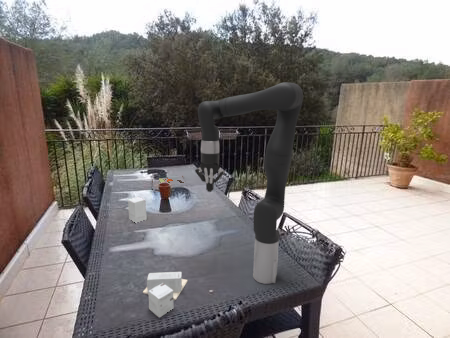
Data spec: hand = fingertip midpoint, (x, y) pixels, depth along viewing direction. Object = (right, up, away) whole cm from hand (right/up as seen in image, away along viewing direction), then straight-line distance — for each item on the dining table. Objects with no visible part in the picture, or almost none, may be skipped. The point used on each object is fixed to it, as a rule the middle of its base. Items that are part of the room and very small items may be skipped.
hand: (209, 191), depth 121 cm
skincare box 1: (-9, -32, -16) cm, 37 cm away
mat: (-16, -35, -13) cm, 41 cm away
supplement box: (-44, -20, +43) cm, 64 cm away
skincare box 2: (-15, -38, -24) cm, 48 cm away
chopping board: (-40, -2, +114) cm, 120 cm away
